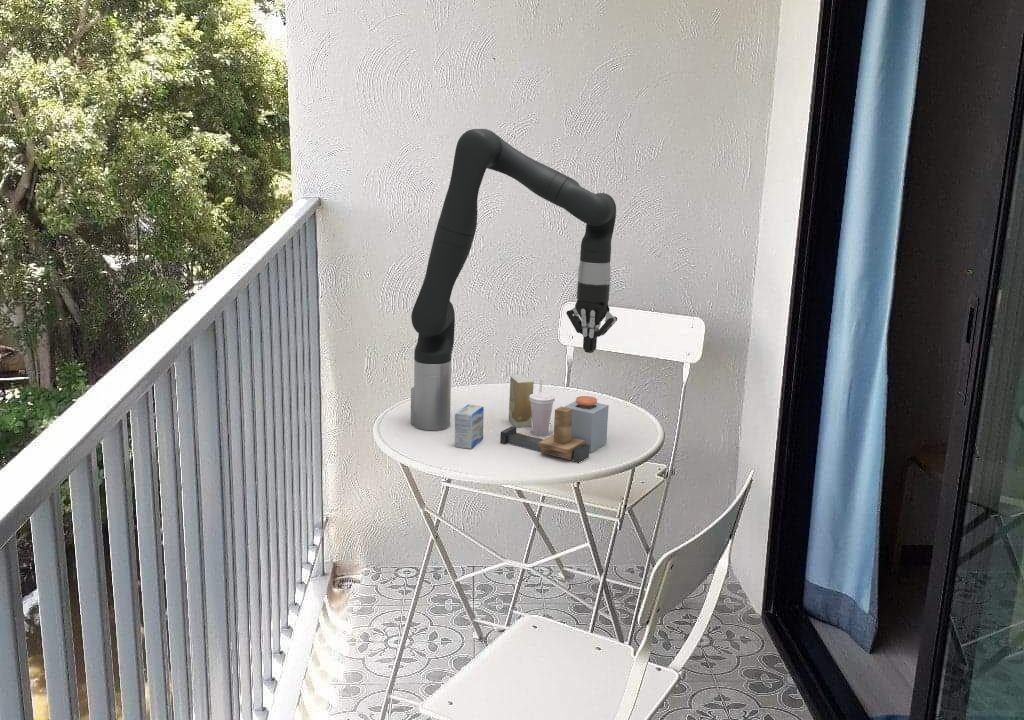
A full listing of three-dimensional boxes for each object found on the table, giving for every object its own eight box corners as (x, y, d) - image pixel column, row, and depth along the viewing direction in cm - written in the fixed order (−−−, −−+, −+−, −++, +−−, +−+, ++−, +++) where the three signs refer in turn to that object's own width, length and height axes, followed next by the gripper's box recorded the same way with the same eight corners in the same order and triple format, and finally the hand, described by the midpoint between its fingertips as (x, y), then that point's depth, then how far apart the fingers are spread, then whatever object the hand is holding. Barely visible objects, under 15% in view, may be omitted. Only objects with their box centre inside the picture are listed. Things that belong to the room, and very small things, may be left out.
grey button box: (561, 446, 243) (563, 406, 240) (577, 437, 250) (579, 399, 247) (590, 453, 239) (592, 413, 236) (606, 444, 245) (608, 405, 243)
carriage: (538, 454, 236) (540, 410, 233) (555, 444, 243) (557, 401, 240) (567, 461, 232) (570, 416, 229) (584, 451, 239) (586, 408, 236)
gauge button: (570, 426, 242) (572, 399, 240) (581, 421, 246) (582, 394, 244) (589, 430, 240) (590, 403, 238) (599, 425, 244) (600, 398, 242)
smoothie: (538, 427, 256) (540, 374, 252) (558, 433, 252) (560, 379, 249) (522, 433, 251) (524, 379, 248) (542, 439, 247) (545, 384, 244)
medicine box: (471, 449, 239) (471, 415, 236) (453, 447, 240) (454, 412, 238) (483, 439, 246) (484, 405, 244) (466, 436, 247) (467, 403, 245)
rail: (500, 443, 244) (500, 431, 243) (511, 437, 248) (511, 426, 247) (578, 463, 232) (579, 451, 232) (588, 457, 236) (589, 445, 236)
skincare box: (507, 420, 261) (509, 375, 257) (523, 419, 262) (525, 374, 259) (516, 428, 255) (518, 382, 251) (532, 426, 256) (534, 381, 253)
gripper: (561, 278, 234) (557, 350, 238) (611, 286, 227) (606, 360, 232) (576, 274, 240) (572, 344, 244) (626, 281, 233) (621, 353, 238)
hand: (589, 352), depth 238 cm, fingers closed
